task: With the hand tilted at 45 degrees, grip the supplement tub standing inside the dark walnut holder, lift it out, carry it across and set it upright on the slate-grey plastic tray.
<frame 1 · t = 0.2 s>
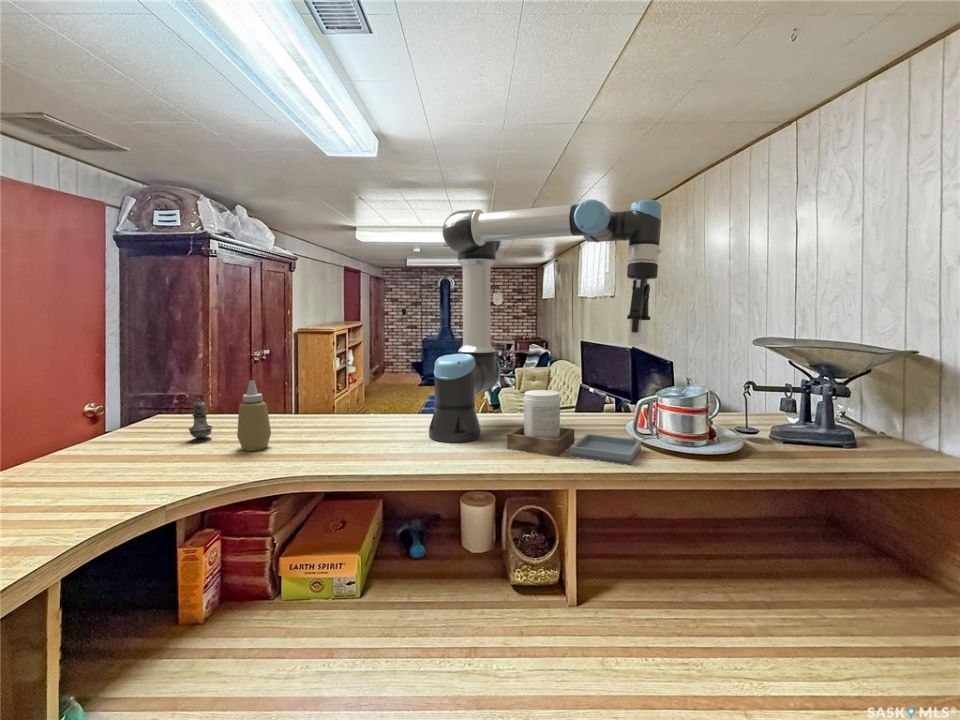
hand: (637, 344, 125), 27 cm above the table, tool pointing down, fingers open, 13 cm apart
holder: (541, 446, 128), on the table
supplement tub: (541, 446, 128), resting in holder
tray: (606, 452, 122), on the table
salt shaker: (201, 441, 133), on the table
squeeze bottle: (255, 449, 125), on the table
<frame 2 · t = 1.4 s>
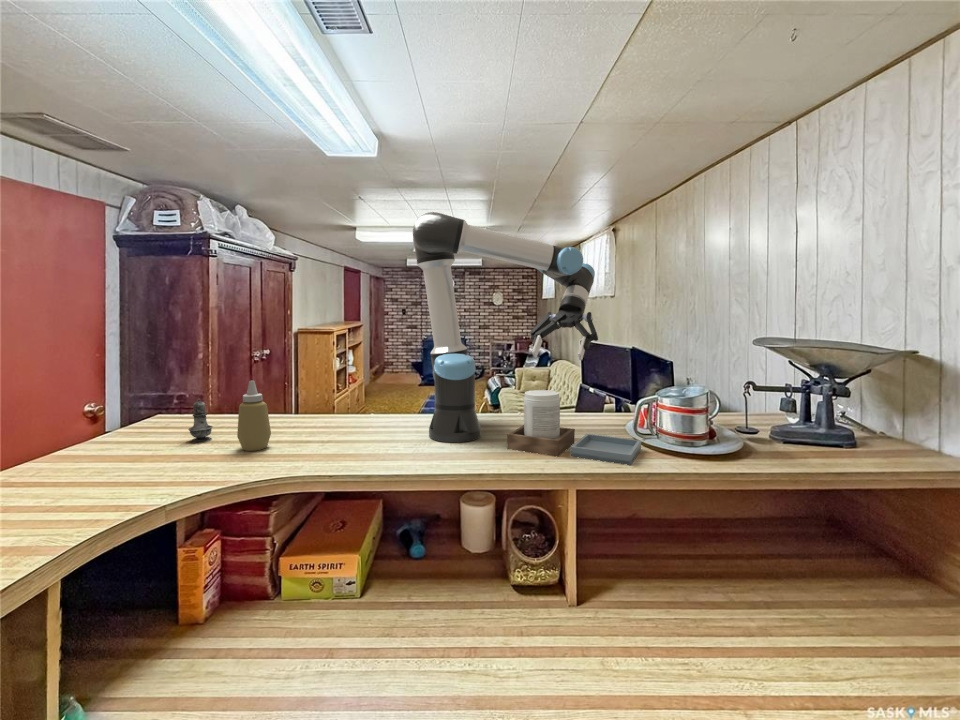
hand: (556, 356, 135), 24 cm above the table, tool tilted 45°, fingers open, 13 cm apart
nothing on the table moved.
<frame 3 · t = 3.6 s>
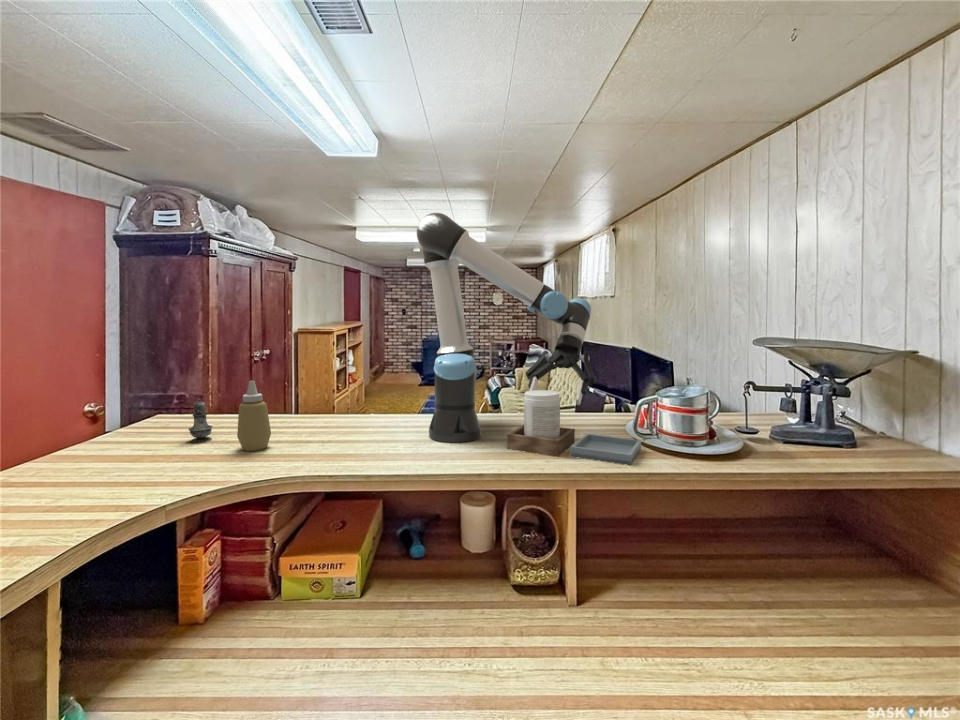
hand: (553, 400, 131), 12 cm above the table, tool tilted 45°, fingers open, 13 cm apart
nothing on the table moved.
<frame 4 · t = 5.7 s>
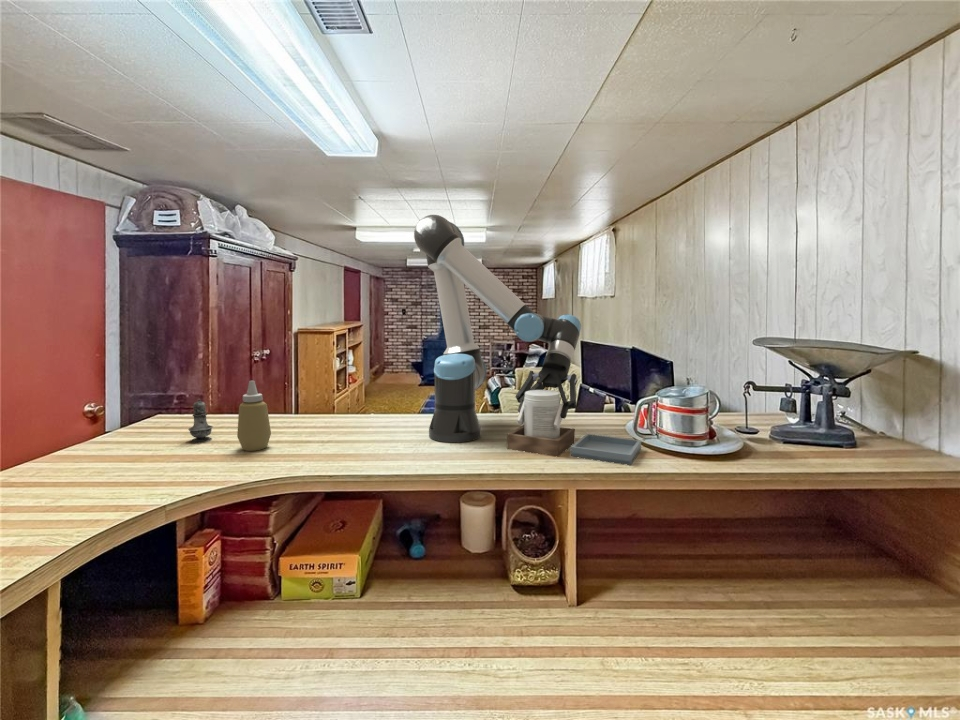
hand: (537, 425, 125), 6 cm above the table, tool tilted 45°, fingers closed on supplement tub, 9 cm apart
supplement tub: (541, 446, 128), resting in holder, touching gripper
everything else where it was.
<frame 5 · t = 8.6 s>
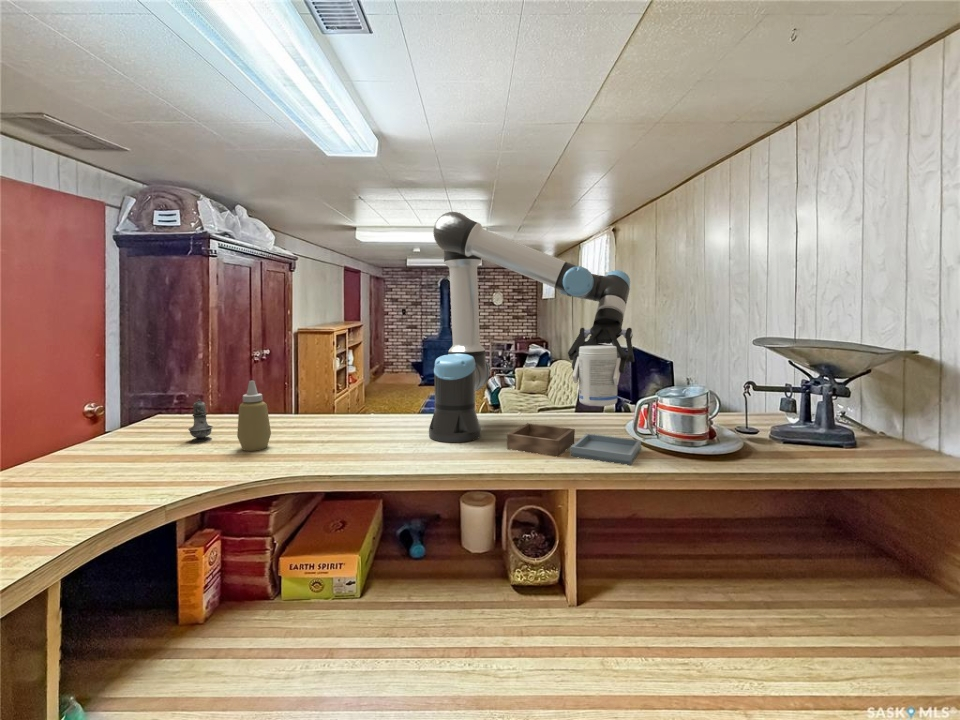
hand: (594, 380, 119), 19 cm above the table, tool tilted 45°, fingers closed on supplement tub, 9 cm apart
supplement tub: (597, 404, 122), point 12 cm above the table, touching gripper
everything else where it was.
when the fingers open (9 cm above the table, at t = 11.4 s): supplement tub drops 2 cm, resting on tray.
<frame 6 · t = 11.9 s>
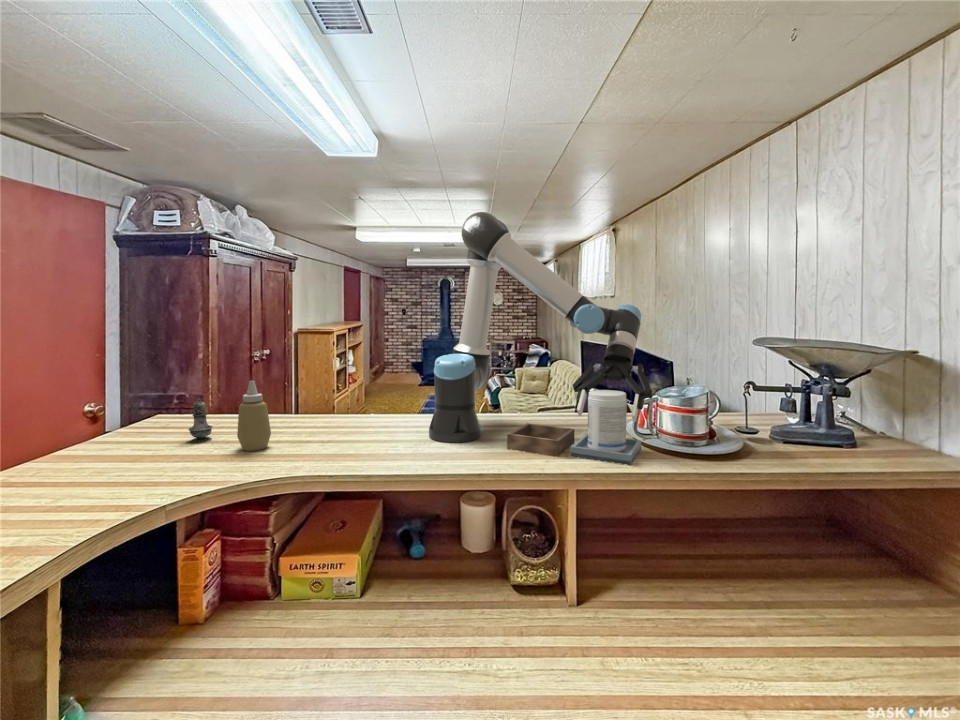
hand: (605, 415, 119), 10 cm above the table, tool tilted 45°, fingers open, 13 cm apart
supplement tub: (606, 449, 122), point 1 cm above the table, touching tray
everything else where it was.
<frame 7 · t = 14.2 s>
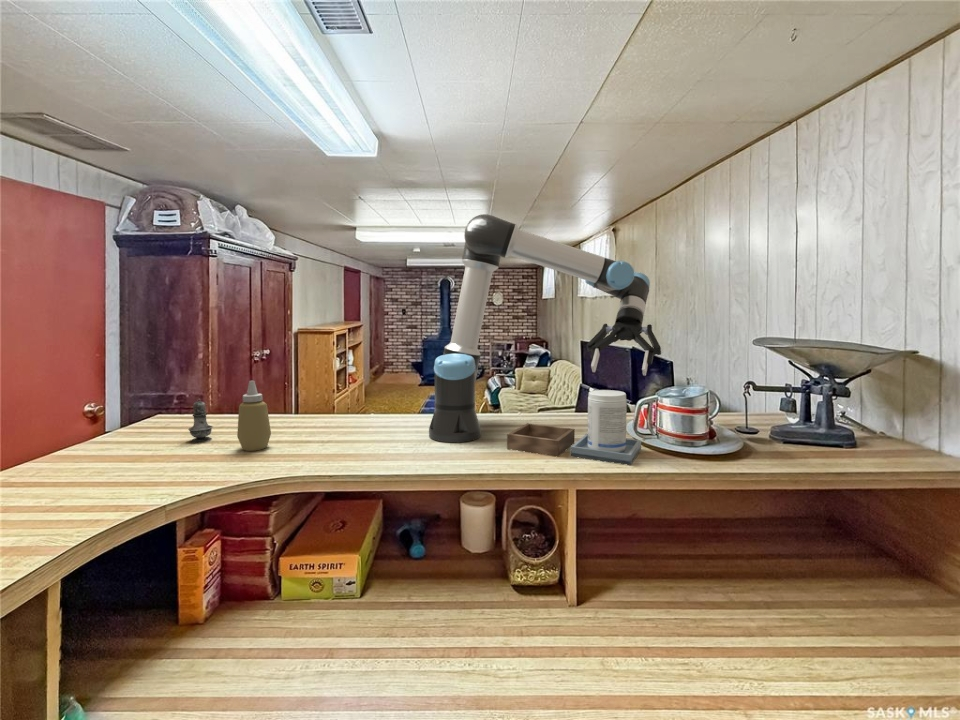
hand: (617, 370, 129), 20 cm above the table, tool tilted 45°, fingers open, 13 cm apart
nothing on the table moved.
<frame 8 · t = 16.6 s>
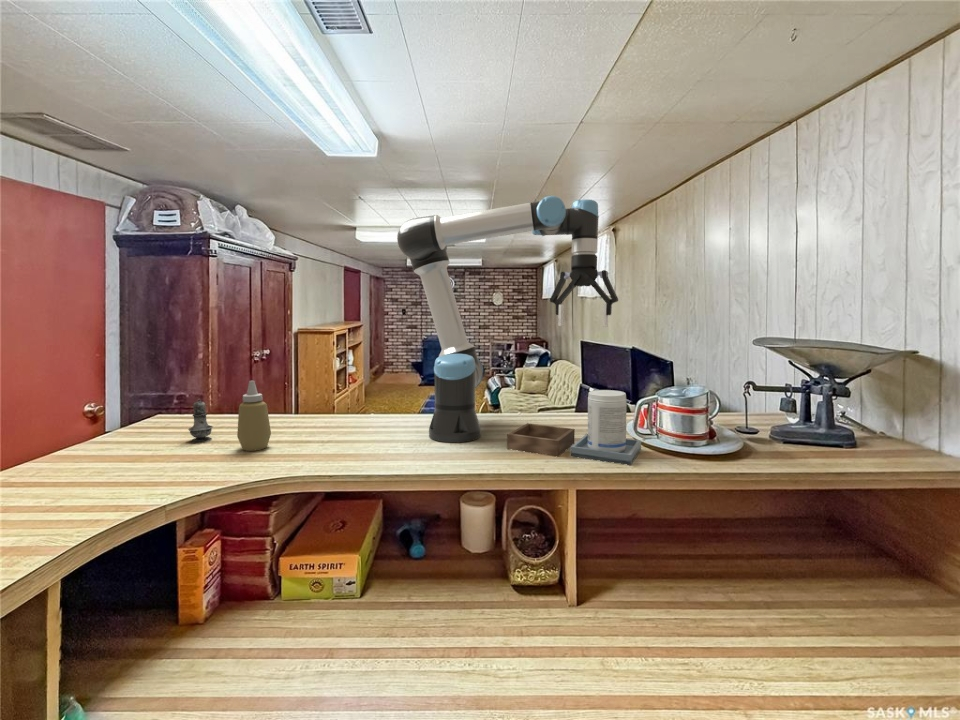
hand: (582, 326, 143), 32 cm above the table, tool pointing down, fingers open, 13 cm apart
nothing on the table moved.
at the end: supplement tub inside the target area on the tray (0.3 cm from its centre), point 0.8 cm above the tray's base; supplement tub tilted 0°; the gripper is holding nothing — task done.
